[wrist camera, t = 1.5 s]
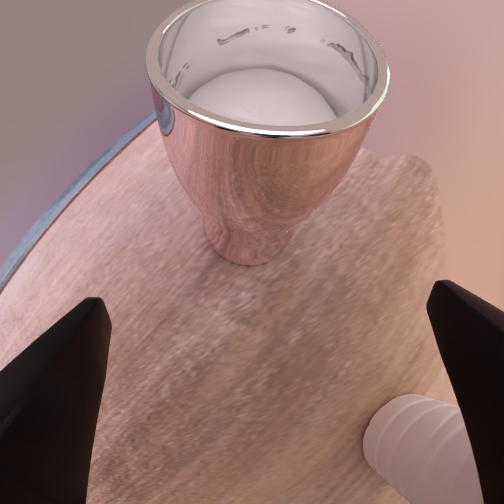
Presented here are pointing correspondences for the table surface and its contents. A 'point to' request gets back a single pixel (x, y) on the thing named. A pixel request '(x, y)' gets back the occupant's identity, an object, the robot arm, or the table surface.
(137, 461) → the table surface
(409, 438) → the water bottle
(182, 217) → the table surface
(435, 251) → the table surface
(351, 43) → the silver metal tumbler
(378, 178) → the table surface
